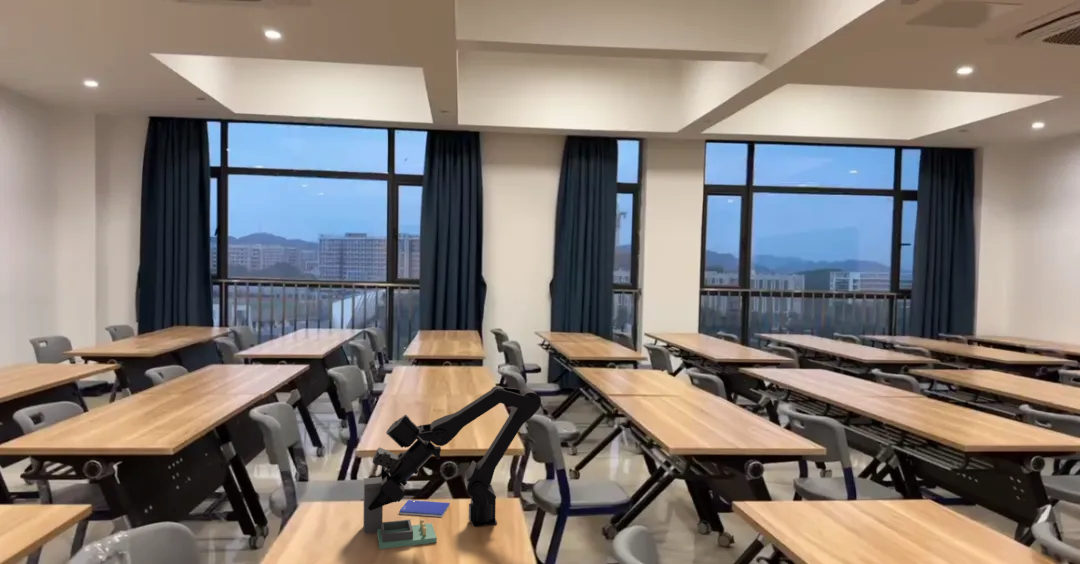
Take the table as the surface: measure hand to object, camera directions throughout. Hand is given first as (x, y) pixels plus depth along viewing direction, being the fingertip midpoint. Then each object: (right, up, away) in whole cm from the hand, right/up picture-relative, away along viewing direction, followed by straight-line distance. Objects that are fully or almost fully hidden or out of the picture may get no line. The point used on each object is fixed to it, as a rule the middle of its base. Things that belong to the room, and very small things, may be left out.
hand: (369, 502), depth 167 cm
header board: (+11, -8, -4) cm, 14 cm away
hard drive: (+12, -8, +14) cm, 20 cm away
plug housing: (+1, -7, 0) cm, 7 cm away
